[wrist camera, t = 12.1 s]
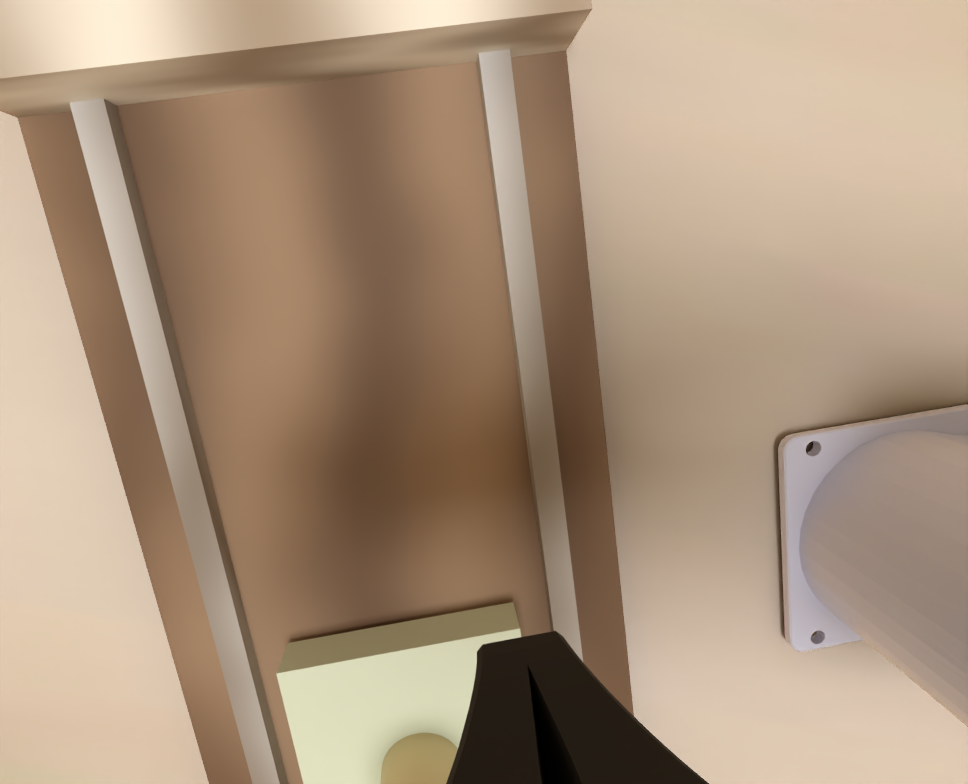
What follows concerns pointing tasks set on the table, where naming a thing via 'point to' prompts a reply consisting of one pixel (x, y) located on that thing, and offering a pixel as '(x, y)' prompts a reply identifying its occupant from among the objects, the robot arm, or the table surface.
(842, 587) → the robot arm
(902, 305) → the table surface
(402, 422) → the rail
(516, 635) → the carriage
